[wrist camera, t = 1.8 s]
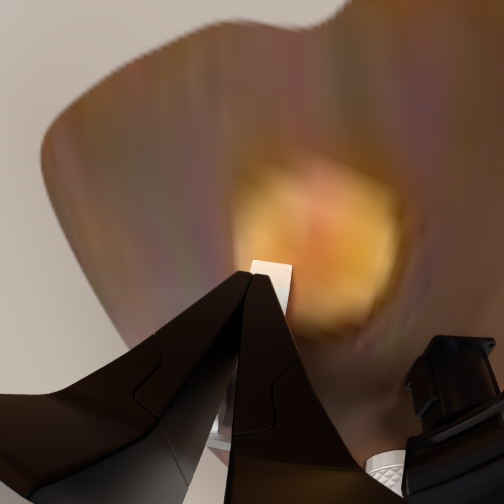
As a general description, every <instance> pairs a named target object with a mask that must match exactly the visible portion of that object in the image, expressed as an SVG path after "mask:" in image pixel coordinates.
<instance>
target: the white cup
mask: <svg viewBox="0 0 504 504" xmlns="http://www.w3.org/2000/svg"><path fill="white" fill-rule="evenodd" d="M405 451H406V450H393V451H388V452H383V453H380V454H377V455H374V456H372V457H371V458H369V459H368V460H367V461H366V465H365V472H366V473H368V474H369V475H370V476H372V477H373V478H375V479H376V480H378V481H379V482H380V483H382V484H383V485H385V486H386V487H388V488H389V489H391V490H392V491H394V492H395V493H397V494H398V495H400V496H401V497H403V496H402V492H401V483H402V476H403V468H404V460H405Z"/></svg>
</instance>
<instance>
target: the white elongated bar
mask: <svg viewBox="0 0 504 504" xmlns="http://www.w3.org/2000/svg"><path fill="white" fill-rule="evenodd" d="M250 272H251V273H253V275H254V274H255V273H259V274H265V275H269V277H270V279H271V281H272V284H273V287H274V289H275V292H276V294H277V297H278V299H279V302H280V304H281V307H282V310H283V312H284V315H285V313H286V307H287V301H288V295H289V289H290V281H291V273H292V265H287V264H280V263H273V262H266V261H259V260H253V262H252V266H251V269H250Z"/></svg>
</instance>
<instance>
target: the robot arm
mask: <svg viewBox="0 0 504 504" xmlns="http://www.w3.org/2000/svg"><path fill="white" fill-rule="evenodd" d="M495 345H496V342H495V340H494V338H480V337H460V336H444V335H439V336H436V337H435V338H434V339H433V340H432V342H431V343H430V345H429V347H428V348H427V350H426V352H425V354H424V355H423V357H422V358H421V360H420V361H419V363H418V364H417V366H416V368H415V369H414V371H413V372H412V374H411V375H410V377H409V379H408V381H407V382H406V389H407V390H412V396H413V402H414V408H415V415H416V417H417V418H421V423H422V430H423V433H422V434H420V435H418V436H413V437H410V438H408V439H407V445H406V451H405V460H404V468H403V476H402V483H401V492H402V496H403V497H401V496H400V495H398V494H397V493H395V492H394V491H392V490H391V489H389V488H388V487H386V486H385V485H383V484H382V483H380V482H379V481H378V480H376V479H375V478H373V477H372V476H370V475H369V474H368V473H366V472H365V471H364V470H363V469H362V468H361V467H360V466H359V464H358V463H357V462H356V461H355V459H354V458H353V457H352V455H351V454H350V452H349V450H348V449H347V447H346V445H345V444H344V442H343V440H342V438H341V437H340V435H339V433H338V432H337V430H336V428H335V426H334V425H333V423H332V421H331V419H330V418H329V416H328V414H327V412H326V411H325V409H324V407H323V405H322V403H321V401H320V400H319V398H318V396H317V394H316V392H315V390H314V388H313V385H312V383H311V381H310V378H309V376H308V374H307V371H306V369H305V366H304V363H303V362H302V359H301V356H300V354H299V351H298V348H297V346H296V343H295V341H294V338H293V335H292V333H291V330H290V328H289V325H288V323H287V320H286V317H285V315H284V312H283V310H282V307H281V304H280V302H279V299H278V297H277V294H276V292H275V289H274V287H273V284H272V281H271V279H270V277H269V275H265V274H259V273H255V274H254V275H253V273H251V272H245V271H237V272H235V273H234V274H233V275H231V276H230V277H229V278H227V279H226V280H225V281H223V282H222V283H221V284H219V285H218V286H217V287H215V288H214V289H213V290H211V291H210V292H209V293H207V294H206V295H205V296H203V297H202V298H201V299H199V300H198V301H197V302H195V303H194V304H193V305H191V306H190V307H189V308H187V309H186V310H185V311H183V312H182V313H181V314H179V315H178V316H177V317H175V318H174V319H172V320H171V321H170V322H168V323H167V324H166V325H164V326H163V327H162V328H160V329H159V330H158V331H156V332H155V335H154V334H152V335H151V336H149V337H148V338H147V339H145V340H144V341H143V342H141V343H140V344H138V345H137V346H135V347H134V348H133V349H131V350H130V351H128V352H127V353H125V354H124V355H122V356H120V357H119V358H117V359H115V360H114V361H112V362H110V363H109V364H107V365H105V366H104V367H102V368H100V369H98V370H97V371H95V372H93V373H91V374H90V375H88V376H86V377H84V378H83V379H81V380H79V381H77V382H76V383H74V384H72V385H70V386H68V387H66V388H64V389H62V390H59V391H57V392H53V393H49V394H41V395H26V394H25V395H24V394H0V504H182V503H183V501H184V498H185V496H186V493H187V491H188V487H189V485H190V483H191V480H192V478H193V475H194V473H195V470H196V468H197V465H198V463H199V460H200V457H201V455H202V452H203V450H204V447H205V445H206V442H207V440H208V437H209V434H210V432H211V429H212V427H213V424H214V421H215V419H216V416H217V413H218V411H219V408H220V405H221V403H222V400H223V397H224V395H225V392H226V389H227V387H228V384H229V381H230V379H231V376H232V373H233V371H234V368H235V365H236V362H237V360H238V368H237V380H236V391H235V402H234V413H233V424H232V435H231V446H230V456H229V465H228V474H227V481H226V488H225V496H224V504H504V391H503V392H501V393H500V390H499V387H498V384H497V381H496V378H495V375H494V373H493V370H492V367H491V365H490V362H489V360H488V355H489V354H490V352H491V351H492V350H493V348H494V347H495Z"/></svg>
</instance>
